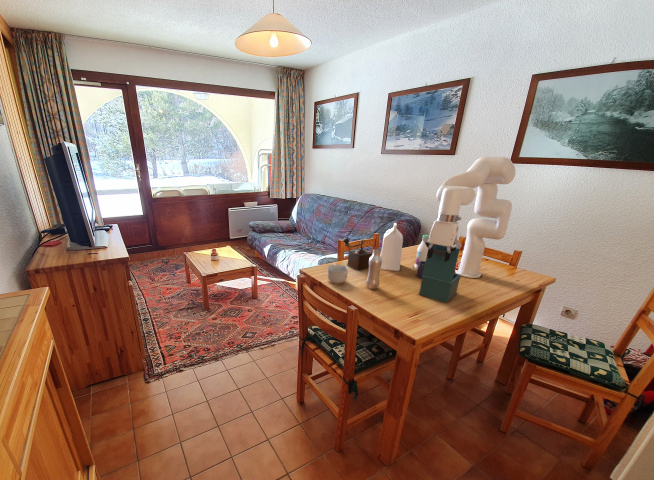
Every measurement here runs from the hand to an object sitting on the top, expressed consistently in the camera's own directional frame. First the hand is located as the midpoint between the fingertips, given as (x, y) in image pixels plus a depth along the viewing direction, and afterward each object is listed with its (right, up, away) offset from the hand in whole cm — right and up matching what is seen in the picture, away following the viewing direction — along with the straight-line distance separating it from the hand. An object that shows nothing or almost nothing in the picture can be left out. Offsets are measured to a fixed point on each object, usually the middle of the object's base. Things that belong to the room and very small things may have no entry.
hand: (437, 259), depth 135 cm
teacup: (-38, -9, +32) cm, 51 cm away
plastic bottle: (-22, -13, +23) cm, 34 cm away
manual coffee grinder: (-23, -1, +51) cm, 56 cm away
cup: (+11, -7, +37) cm, 39 cm away
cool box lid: (+4, -1, +5) cm, 6 cm away
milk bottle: (+16, -2, +50) cm, 52 cm away
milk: (-3, -1, +52) cm, 52 cm away
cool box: (+8, -16, +16) cm, 24 cm away
